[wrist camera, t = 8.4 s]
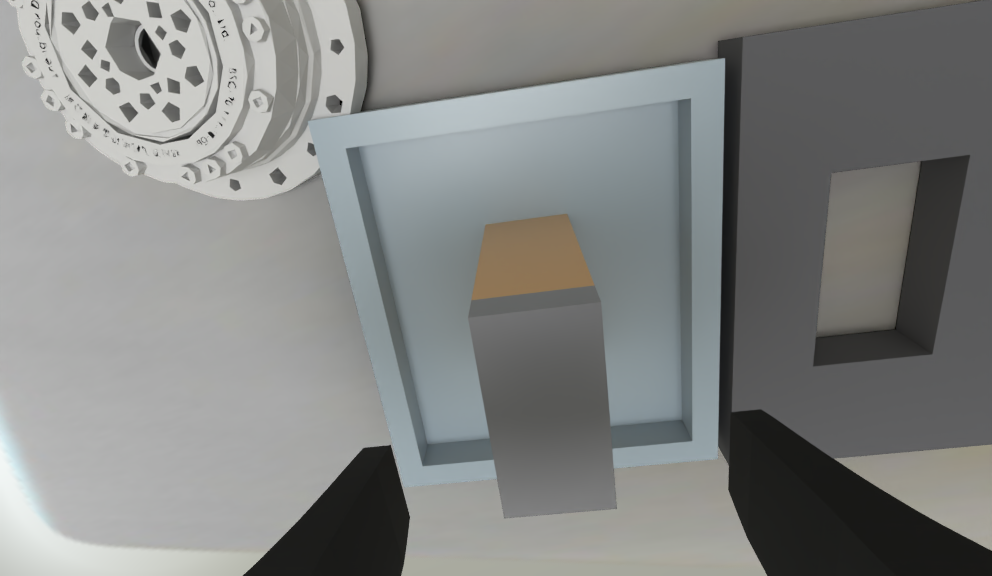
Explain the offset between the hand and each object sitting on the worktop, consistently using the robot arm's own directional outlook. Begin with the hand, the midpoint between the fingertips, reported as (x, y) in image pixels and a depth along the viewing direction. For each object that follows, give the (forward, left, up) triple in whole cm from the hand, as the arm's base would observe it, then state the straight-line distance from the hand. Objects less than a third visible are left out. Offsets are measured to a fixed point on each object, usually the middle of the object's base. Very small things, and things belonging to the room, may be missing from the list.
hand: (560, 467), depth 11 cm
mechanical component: (+9, -10, -11) cm, 17 cm away
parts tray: (0, 0, -10) cm, 10 cm away
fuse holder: (-12, 0, -10) cm, 16 cm away
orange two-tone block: (0, 0, -10) cm, 10 cm away
